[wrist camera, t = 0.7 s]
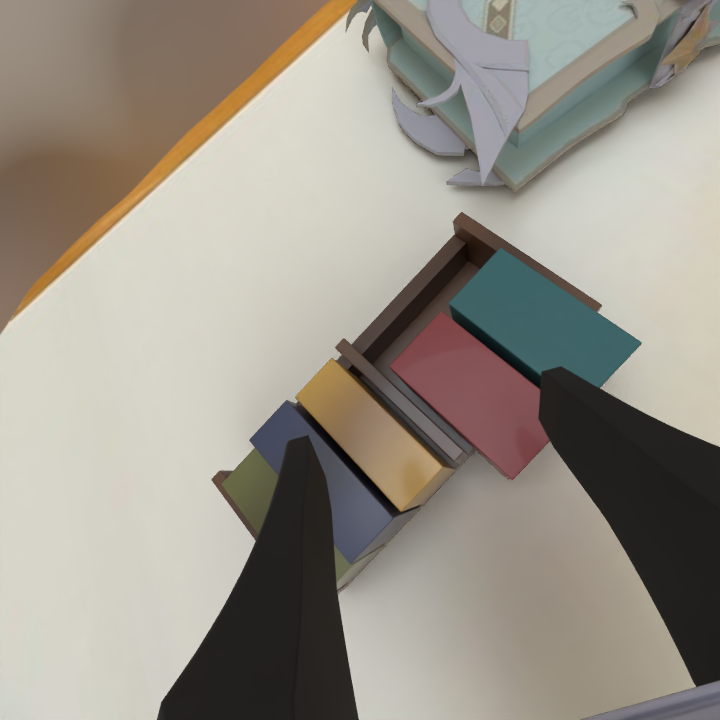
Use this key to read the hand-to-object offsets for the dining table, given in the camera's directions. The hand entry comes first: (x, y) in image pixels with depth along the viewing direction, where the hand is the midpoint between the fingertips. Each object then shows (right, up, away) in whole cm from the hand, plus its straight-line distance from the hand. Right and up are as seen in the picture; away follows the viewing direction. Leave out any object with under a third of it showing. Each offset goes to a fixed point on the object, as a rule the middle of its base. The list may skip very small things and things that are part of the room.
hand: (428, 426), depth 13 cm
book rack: (+1, -2, +16) cm, 16 cm away
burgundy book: (+5, -1, +13) cm, 14 cm away
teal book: (+8, +2, +13) cm, 16 cm away
